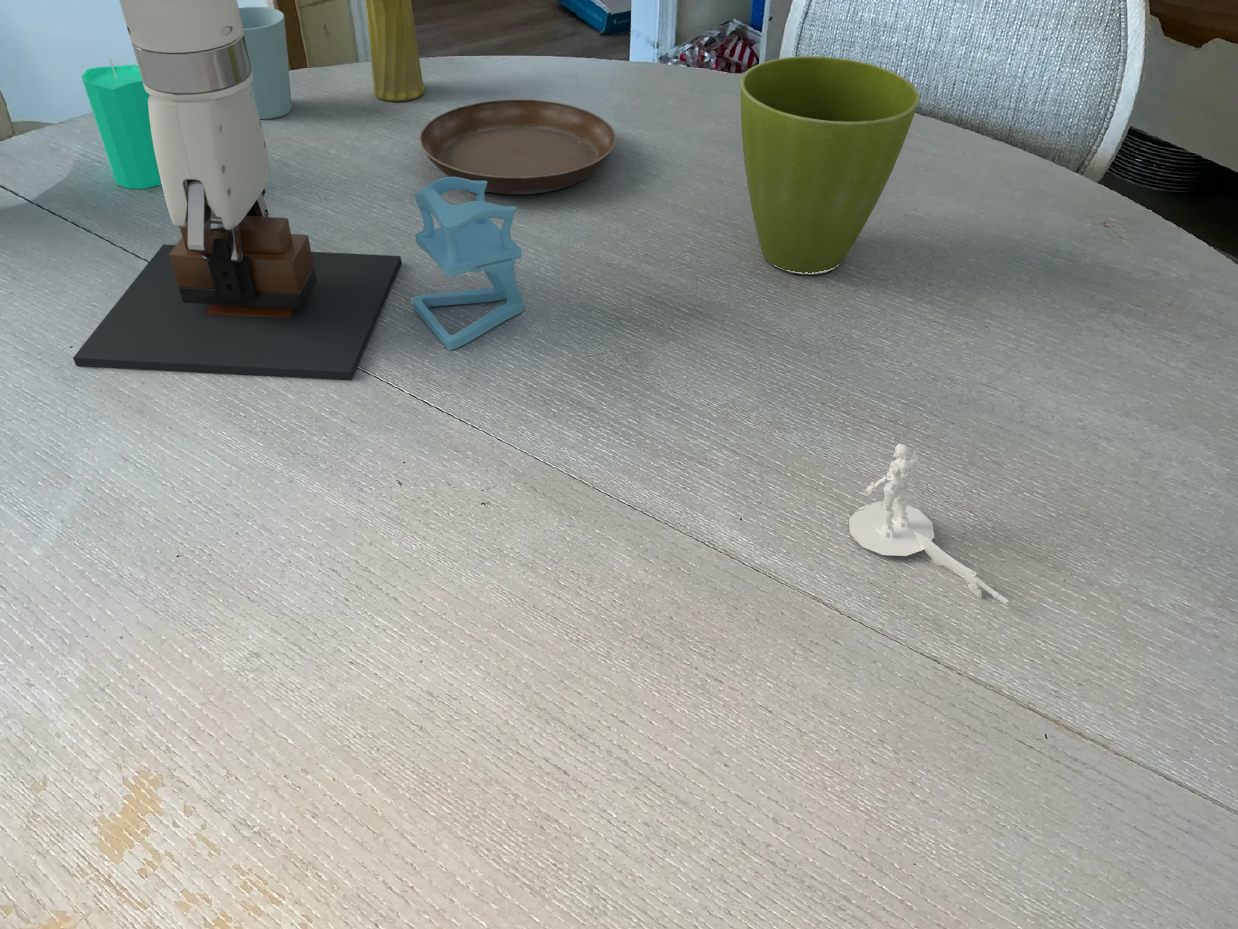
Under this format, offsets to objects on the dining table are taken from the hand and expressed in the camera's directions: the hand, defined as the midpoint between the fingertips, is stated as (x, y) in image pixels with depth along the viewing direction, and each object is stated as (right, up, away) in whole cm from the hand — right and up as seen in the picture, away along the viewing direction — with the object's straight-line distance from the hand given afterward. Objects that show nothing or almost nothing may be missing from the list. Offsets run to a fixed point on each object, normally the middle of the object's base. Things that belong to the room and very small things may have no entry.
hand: (248, 281), depth 84 cm
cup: (-10, +26, +34) cm, 44 cm away
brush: (0, -1, +1) cm, 1 cm away
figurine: (+51, -22, -18) cm, 58 cm away
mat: (0, -2, +2) cm, 3 cm away
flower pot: (+48, +4, +11) cm, 50 cm away
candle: (-18, +14, +21) cm, 31 cm away
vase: (+4, +30, +39) cm, 49 cm away
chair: (+19, -3, +2) cm, 19 cm away
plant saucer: (+20, +17, +25) cm, 36 cm away
